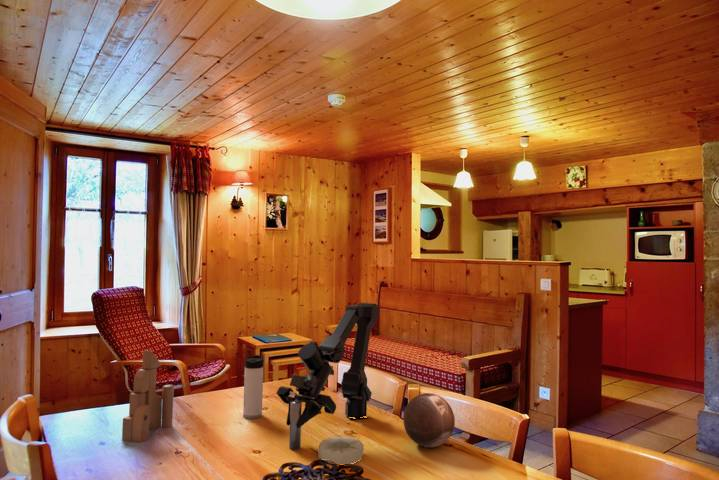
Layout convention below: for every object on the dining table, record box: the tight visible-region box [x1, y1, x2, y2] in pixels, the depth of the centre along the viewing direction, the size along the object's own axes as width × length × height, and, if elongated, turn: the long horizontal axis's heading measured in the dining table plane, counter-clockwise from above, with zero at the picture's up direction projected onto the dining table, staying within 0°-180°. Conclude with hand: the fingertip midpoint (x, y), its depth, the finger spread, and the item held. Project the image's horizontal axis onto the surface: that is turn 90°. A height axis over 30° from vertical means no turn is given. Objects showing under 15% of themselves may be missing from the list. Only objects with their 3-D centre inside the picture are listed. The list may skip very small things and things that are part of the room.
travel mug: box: [242, 354, 264, 420], centre depth 165 cm, size 6×7×20 cm
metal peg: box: [288, 400, 303, 451], centre depth 138 cm, size 3×3×13 cm
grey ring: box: [318, 436, 365, 464], centre depth 133 cm, size 12×12×3 cm
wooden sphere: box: [402, 392, 456, 448], centre depth 143 cm, size 15×15×15 cm
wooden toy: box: [121, 349, 175, 443], centre depth 148 cm, size 16×7×25 cm, turn 166°
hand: (292, 426), depth 137 cm, fingers open, 3 cm apart
